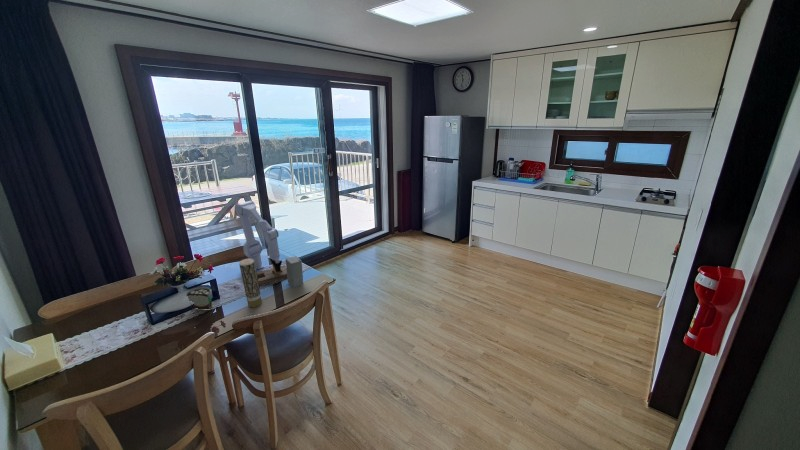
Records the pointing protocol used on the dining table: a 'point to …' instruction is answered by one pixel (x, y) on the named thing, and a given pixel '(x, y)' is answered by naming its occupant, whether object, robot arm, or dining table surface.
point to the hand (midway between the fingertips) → (276, 269)
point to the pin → (275, 270)
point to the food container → (200, 298)
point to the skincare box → (294, 271)
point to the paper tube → (250, 282)
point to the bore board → (271, 276)
